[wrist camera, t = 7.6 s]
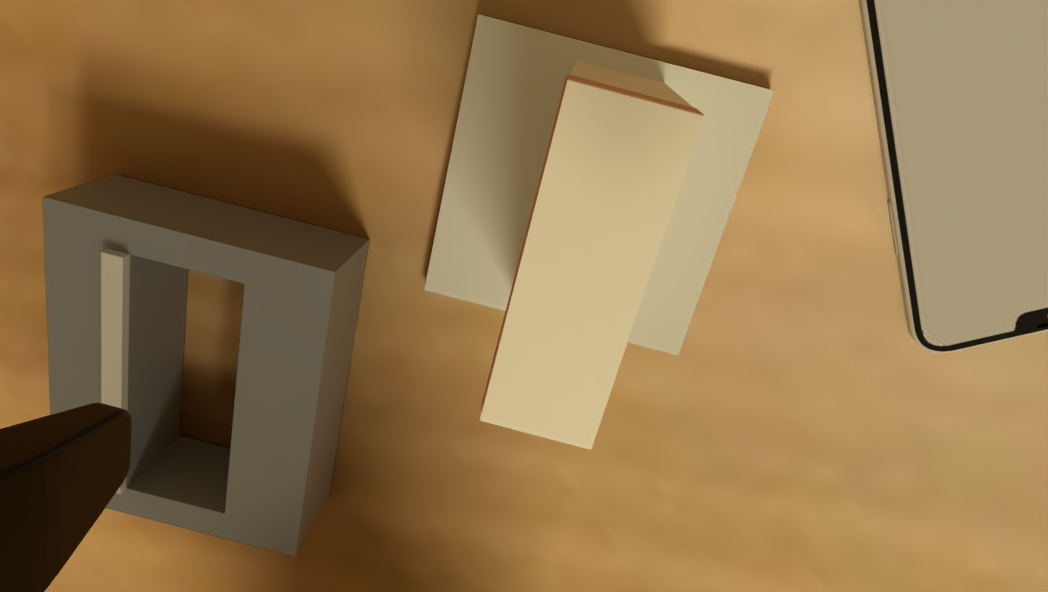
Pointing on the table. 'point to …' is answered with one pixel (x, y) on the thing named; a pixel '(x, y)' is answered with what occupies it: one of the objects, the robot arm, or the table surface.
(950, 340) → the smartphone
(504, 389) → the cream rectangular block
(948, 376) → the table surface
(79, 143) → the table surface
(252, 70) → the table surface
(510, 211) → the mat
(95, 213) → the dispenser
